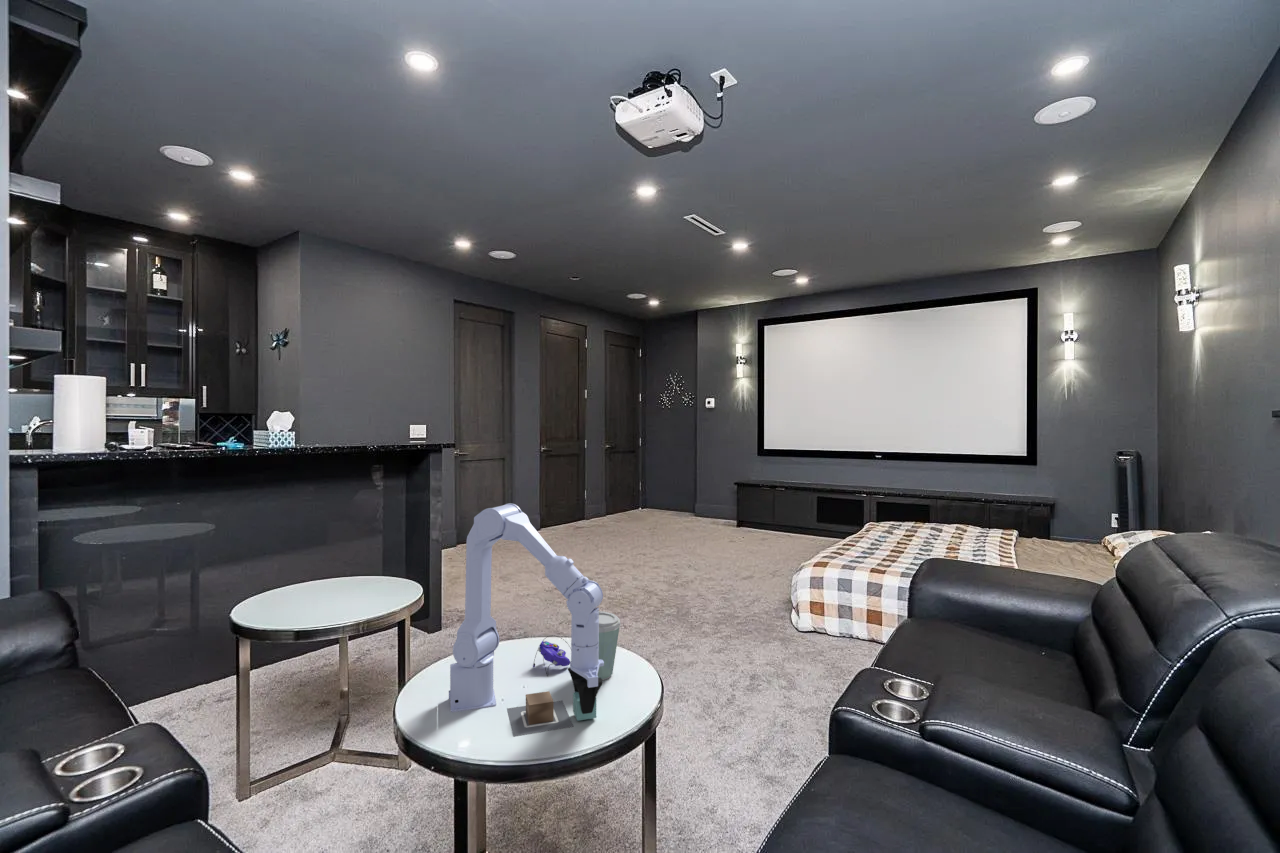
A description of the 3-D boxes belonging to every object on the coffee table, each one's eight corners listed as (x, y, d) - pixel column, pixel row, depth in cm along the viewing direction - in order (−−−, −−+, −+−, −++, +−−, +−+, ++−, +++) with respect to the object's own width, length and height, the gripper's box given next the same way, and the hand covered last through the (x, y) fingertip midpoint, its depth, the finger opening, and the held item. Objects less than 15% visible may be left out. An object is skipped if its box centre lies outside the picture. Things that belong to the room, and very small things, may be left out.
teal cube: (577, 720, 120) (577, 701, 120) (573, 711, 123) (573, 692, 123) (596, 717, 121) (596, 698, 121) (591, 708, 125) (591, 689, 125)
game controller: (584, 651, 150) (556, 655, 142) (572, 680, 150) (544, 686, 142) (559, 630, 156) (531, 633, 148) (548, 659, 156) (520, 663, 148)
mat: (513, 737, 114) (513, 736, 114) (507, 709, 126) (507, 708, 126) (573, 728, 118) (573, 726, 118) (562, 701, 130) (562, 699, 130)
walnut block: (528, 724, 119) (529, 705, 119) (525, 713, 124) (525, 694, 124) (553, 721, 121) (553, 701, 121) (549, 709, 125) (549, 691, 125)
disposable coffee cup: (614, 665, 149) (614, 606, 149) (626, 683, 139) (626, 619, 139) (573, 670, 146) (573, 610, 146) (582, 689, 136) (582, 624, 136)
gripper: (613, 652, 117) (612, 721, 117) (595, 628, 130) (594, 689, 130) (578, 656, 114) (577, 726, 114) (563, 632, 128) (563, 694, 128)
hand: (584, 707), depth 122 cm, fingers closed on teal cube, 4 cm apart
